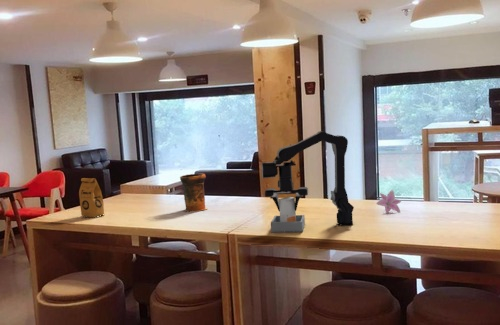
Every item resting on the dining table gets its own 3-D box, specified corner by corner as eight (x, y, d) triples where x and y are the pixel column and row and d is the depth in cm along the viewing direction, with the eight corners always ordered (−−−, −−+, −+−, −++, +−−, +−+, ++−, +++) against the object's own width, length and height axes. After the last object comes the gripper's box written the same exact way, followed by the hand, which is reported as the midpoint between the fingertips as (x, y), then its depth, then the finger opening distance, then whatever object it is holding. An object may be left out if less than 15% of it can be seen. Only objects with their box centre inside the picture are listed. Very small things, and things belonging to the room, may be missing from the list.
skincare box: (286, 226, 207) (284, 199, 206) (280, 225, 211) (278, 198, 210) (297, 223, 211) (295, 197, 210) (290, 222, 214) (288, 196, 213)
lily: (372, 215, 231) (377, 199, 226) (375, 201, 240) (380, 186, 235) (397, 222, 229) (403, 207, 223) (398, 208, 238) (404, 193, 233)
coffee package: (93, 219, 261) (89, 179, 259) (79, 217, 268) (75, 179, 266) (107, 215, 269) (103, 176, 267) (93, 213, 276) (89, 176, 274)
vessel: (196, 213, 258) (192, 176, 257) (177, 211, 267) (174, 176, 266) (213, 208, 270) (210, 173, 268) (195, 207, 279) (192, 173, 277)
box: (304, 224, 216) (304, 214, 216) (302, 232, 203) (302, 221, 203) (275, 225, 219) (274, 215, 218) (271, 232, 206) (270, 222, 205)
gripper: (307, 172, 215) (309, 206, 216) (267, 174, 218) (269, 208, 220) (306, 176, 204) (308, 212, 205) (263, 178, 207) (265, 213, 209)
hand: (287, 211), depth 210 cm, fingers closed on skincare box, 7 cm apart
